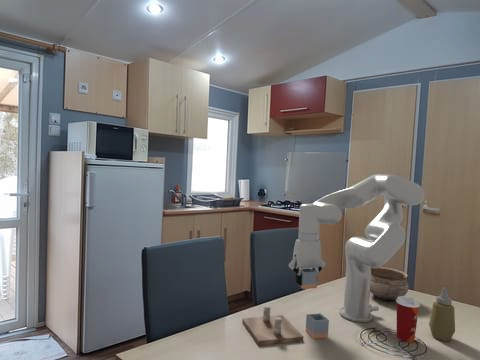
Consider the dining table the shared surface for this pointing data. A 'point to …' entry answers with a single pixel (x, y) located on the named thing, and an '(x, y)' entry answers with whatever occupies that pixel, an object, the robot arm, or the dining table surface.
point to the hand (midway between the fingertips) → (306, 283)
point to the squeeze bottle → (442, 317)
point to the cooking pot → (388, 283)
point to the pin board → (271, 329)
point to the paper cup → (407, 318)
